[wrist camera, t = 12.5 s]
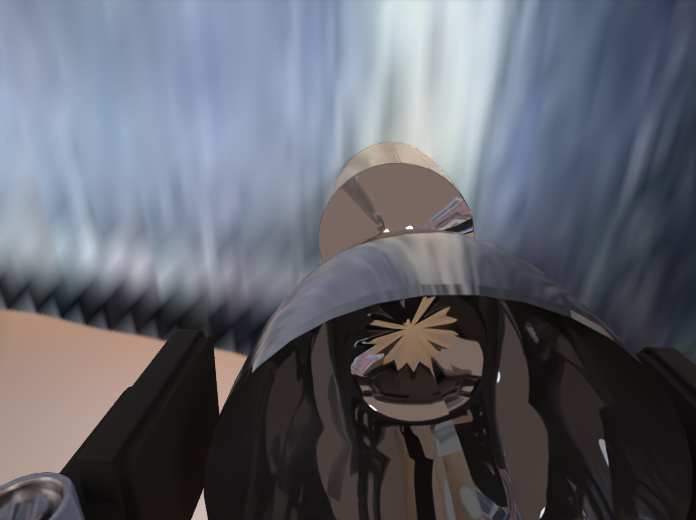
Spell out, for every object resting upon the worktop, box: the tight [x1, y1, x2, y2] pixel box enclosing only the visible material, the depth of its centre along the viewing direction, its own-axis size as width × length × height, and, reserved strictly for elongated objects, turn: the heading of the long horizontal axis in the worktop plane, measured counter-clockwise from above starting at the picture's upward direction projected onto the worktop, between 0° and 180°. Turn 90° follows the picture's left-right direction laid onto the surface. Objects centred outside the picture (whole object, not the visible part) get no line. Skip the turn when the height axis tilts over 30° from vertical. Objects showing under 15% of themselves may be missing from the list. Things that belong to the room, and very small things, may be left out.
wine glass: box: [204, 163, 693, 520], centre depth 15 cm, size 8×8×15 cm
